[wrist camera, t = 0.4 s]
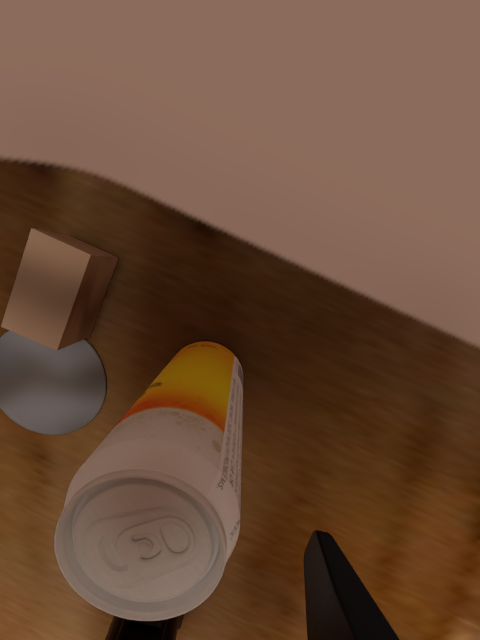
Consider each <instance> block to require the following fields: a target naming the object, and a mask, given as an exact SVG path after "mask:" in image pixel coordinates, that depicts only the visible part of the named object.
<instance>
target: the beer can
mask: <svg viewBox="0 0 480 640" xmlns="http://www.w3.org/2000/svg"><path fill="white" fill-rule="evenodd" d="M242 417H243V371H242V367H241V365H240V362H239V361H238V359H237V358H236V356H235V355H234V354H233V353H232V352H231V351H230V350H229V349H227V348H226V347H224V346H222V345H220V344H217V343H214V342H208V341H202V342H196V343H192V344H189V345H187V346H186V347H184V348H182V349H181V350H180V351H179V352H178V353H177V354H176V355H175V356H174V357H173V359H172V360H171V361H170V362H169V363H168V365H167V366H166V367H165V368H164V369H163V370H162V372H161V373H160V374H159V375H158V376H157V377H156V379H155V380H154V381H153V382H152V383H151V385H150V386H149V387H148V388H147V389H146V390H145V392H144V393H143V394H142V395H141V396H140V398H139V399H138V400H137V401H136V402H135V403H134V405H133V406H132V407H131V408H130V409H129V411H128V412H127V413H126V414H125V415H124V416H123V418H122V419H121V420H120V421H119V422H118V424H117V425H116V426H115V427H114V428H113V429H112V431H111V432H110V433H109V434H108V435H107V437H106V438H105V439H104V440H103V441H102V442H101V444H100V445H99V446H98V447H97V448H96V450H95V451H94V452H93V453H92V454H91V455H90V457H89V458H88V459H87V460H86V461H85V463H84V464H83V465H82V466H81V467H80V469H79V470H78V471H77V473H76V474H75V475H74V477H73V479H72V481H71V483H70V486H69V488H68V491H67V495H66V499H65V504H64V509H63V511H62V513H61V515H60V517H59V520H58V523H57V526H56V530H55V538H54V546H55V554H56V559H57V562H58V565H59V567H60V569H61V572H62V574H63V575H64V577H65V579H66V580H67V582H68V583H69V584H70V586H71V587H72V588H73V589H74V590H75V591H76V592H77V593H78V594H79V595H80V596H81V597H82V598H83V599H85V600H86V601H87V602H89V603H90V604H92V605H93V606H95V607H96V608H98V609H100V610H102V611H104V612H106V613H109V614H111V615H114V616H117V617H120V618H125V619H129V620H137V621H159V620H165V619H170V618H173V617H177V616H179V615H182V614H185V613H187V612H189V611H191V610H193V609H194V608H196V607H197V606H199V605H200V604H201V603H202V602H204V601H205V600H206V599H207V598H208V597H209V596H210V595H211V594H212V592H213V591H214V590H215V588H216V587H217V585H218V583H219V581H220V579H221V577H222V574H223V571H224V568H225V564H226V562H227V560H228V559H229V557H230V555H231V553H232V551H233V550H234V548H235V545H236V542H237V539H238V535H239V530H240V506H241V461H242Z"/></svg>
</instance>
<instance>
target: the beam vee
mask: <svg viewBox="0 0 480 640" xmlns="http://www.w3.org/2000/svg"><path fill="white" fill-rule="evenodd" d="M118 259H119V258H118V257H116V256H113V255H111V254H109V253H107V252H105V251H102V250H100V249H98V248H96V247H94V246H91V245H89V244H87V243H85V242H83V241H80V240H78V239H76V238H74V237H72V236H68V235H63V234H58V233H53V232H48V231H44V230H39V229H34V228H31V231H30V235H29V238H28V241H27V244H26V248H25V251H24V254H23V257H22V261H21V264H20V267H19V270H18V273H17V277H16V280H15V283H14V286H13V290H12V293H11V296H10V299H9V302H8V306H7V309H6V312H5V315H4V319H3V322H2V325H1V327H3V328H6V329H8V330H9V331H8V332H6V333H5V334H4V335H3V336H2V337H1V338H0V408H1V409H2V410H3V411H4V413H6V414H7V415H8V416H9V417H10V418H11V419H12V420H13V421H15V422H16V423H18V424H19V425H21V426H22V427H24V428H27V429H29V430H31V431H34V432H37V433H42V434H49V435H59V434H66V433H70V432H73V431H75V430H78V429H80V428H82V427H83V426H85V425H86V424H87V423H89V422H90V421H91V420H92V419H93V418H94V417H95V416H96V415H97V413H98V412H99V410H100V409H101V406H102V404H103V402H104V399H105V395H106V389H107V381H106V373H105V370H104V366H103V364H102V361H101V359H100V357H99V355H98V354H97V352H96V351H95V349H94V348H93V347H92V345H91V344H90V343H89V342H88V341H87V340H86V338H89V337H90V335H91V332H92V329H93V326H94V324H95V321H96V318H97V316H98V313H99V310H100V308H101V305H102V302H103V299H104V297H105V294H106V291H107V289H108V286H109V283H110V281H111V278H112V275H113V272H114V270H115V267H116V264H117V262H118Z"/></svg>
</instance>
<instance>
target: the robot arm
mask: <svg viewBox="0 0 480 640" xmlns="http://www.w3.org/2000/svg"><path fill="white" fill-rule="evenodd" d="M304 578H305V599H306V619H307V636H308V640H399V638H398V637H397V635H396V633H395V632H394V630H393V629H392V627H391V626H390V624H389V623H388V621H387V620H386V618H385V617H384V615H383V614H382V612H381V610H380V609H379V607H378V606H377V604H376V603H375V601H374V600H373V598H372V597H371V595H370V594H369V592H368V591H367V589H366V587H365V586H364V584H363V583H362V581H361V580H360V578H359V577H358V575H357V574H356V572H355V571H354V569H353V568H352V566H351V564H350V563H349V561H348V560H347V558H346V557H345V555H344V554H343V552H342V551H341V549H340V548H339V546H338V545H337V543H336V542H335V540H334V538H333V537H332V536H331V535H330V534H329V533H327V532H323V531H318V530H315V531H314V532H313V533H312V536H311V538H310V540H309V543H308V545H307V547H306V550H305V553H304ZM183 616H184V614H182V615H179V616H177V617H173V618H170V619H165V620H159V621H137V620H129V619H125V618H120V617H117V616H114V618H113V620H112V623H111V625H110V628H109V631H108V633H107V636H106V639H105V640H176V635H177V630H178V629H180V627H181V623H182V620H183Z"/></svg>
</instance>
